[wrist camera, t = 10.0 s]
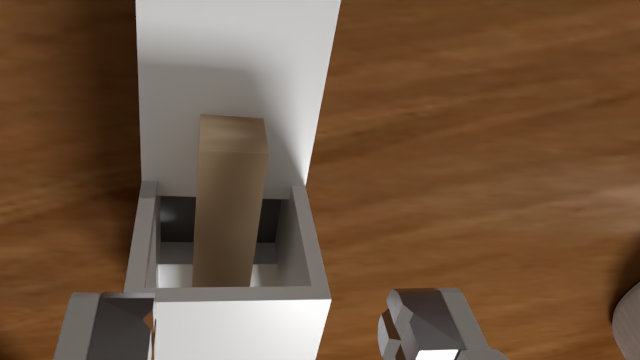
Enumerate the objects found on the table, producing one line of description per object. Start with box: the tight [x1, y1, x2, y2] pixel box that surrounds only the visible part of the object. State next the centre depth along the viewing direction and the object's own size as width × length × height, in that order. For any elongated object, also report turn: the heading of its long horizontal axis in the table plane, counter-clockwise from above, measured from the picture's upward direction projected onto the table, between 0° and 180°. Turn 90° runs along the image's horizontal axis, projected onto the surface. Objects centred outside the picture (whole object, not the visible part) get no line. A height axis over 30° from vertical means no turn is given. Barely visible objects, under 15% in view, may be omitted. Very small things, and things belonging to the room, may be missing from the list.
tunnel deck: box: [124, 0, 341, 360], centre depth 30 cm, size 9×41×11 cm, turn 170°
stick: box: [192, 114, 269, 287], centre depth 32 cm, size 3×20×3 cm, turn 170°
